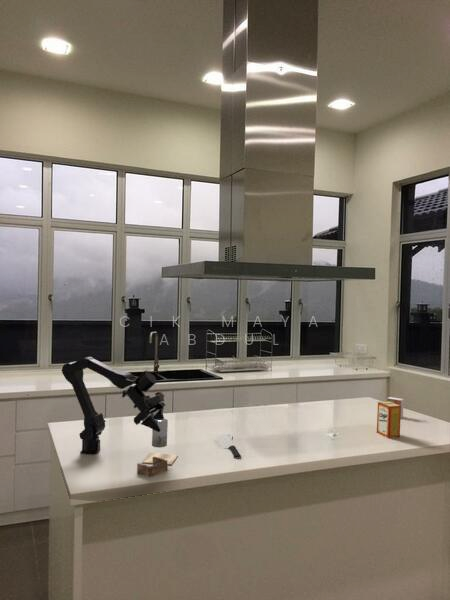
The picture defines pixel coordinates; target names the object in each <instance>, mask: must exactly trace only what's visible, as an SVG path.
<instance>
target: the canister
mask: <svg viewBox="0 0 450 600" xmlns="http://www.w3.org/2000/svg"><path fill="white" fill-rule="evenodd" d="M154 420H155V422H156V423H157V425H158V426H159V428H160V430H161V431H160V432H157V431H155V430H153V429H151V435H152V436H151V446H152V447H153V448H166V447H167V446H168V426H169V424H168V423H169V421H168V419H166V418H164V419H163V418H157V419H154Z"/></svg>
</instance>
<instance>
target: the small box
mask: <svg viewBox="0 0 450 600" xmlns="http://www.w3.org/2000/svg"><path fill="white" fill-rule="evenodd" d="M387 401H389V402H393V403H395V404H397V405H400V406H401V419H402V418H403V417H404V405H405V403H404V401H405V400H404V398H399V397H393V396H389V397H387V399H386V402H387Z"/></svg>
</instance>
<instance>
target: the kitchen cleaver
mask: <svg viewBox="0 0 450 600" xmlns="http://www.w3.org/2000/svg"><path fill="white" fill-rule="evenodd" d="M214 437H215V439H216V441H217V443H218V445H219V447H220V449H222V450H223V449H225V450H226V449H227V450H229V451H230V452H231V454H232V456H233V459H235V458H239V459H242V455H241V454H240V452H239V451H238V449H237V447H236V446H235V445H234V442H233V441H232V440H233V439H232V438H233V434H232V433H228V434H227V433H226V434H219V435H214Z"/></svg>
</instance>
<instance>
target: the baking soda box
mask: <svg viewBox="0 0 450 600" xmlns="http://www.w3.org/2000/svg"><path fill="white" fill-rule="evenodd" d="M376 415H377V417H376V418H377V419H376V433H377V434H378V433H379V435H381V436H383V437H385V436H386V437H385V438H387V437H388V438H387V439H391V438H390V437H400V438H401V420H402V418H401V406H400V405H397V404H395V403H393V402H389V401H387V400H386V401H377V414H376Z"/></svg>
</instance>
